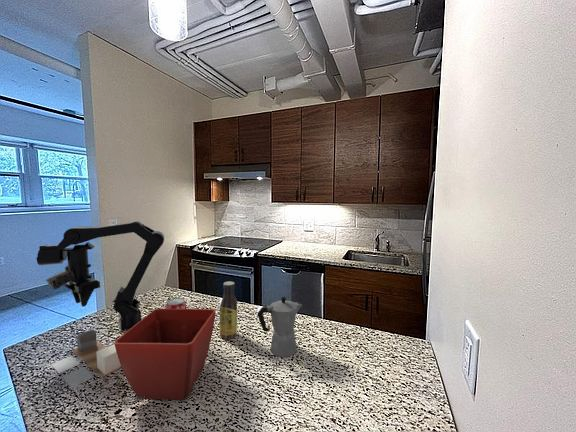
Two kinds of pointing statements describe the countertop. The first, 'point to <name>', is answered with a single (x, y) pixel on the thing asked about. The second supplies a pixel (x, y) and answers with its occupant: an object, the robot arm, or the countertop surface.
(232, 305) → the sauce bottle
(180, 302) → the soda can
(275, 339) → the coffeepot
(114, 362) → the cube
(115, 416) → the countertop surface
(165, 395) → the plant pot
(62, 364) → the broken strip
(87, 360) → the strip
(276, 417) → the countertop surface
